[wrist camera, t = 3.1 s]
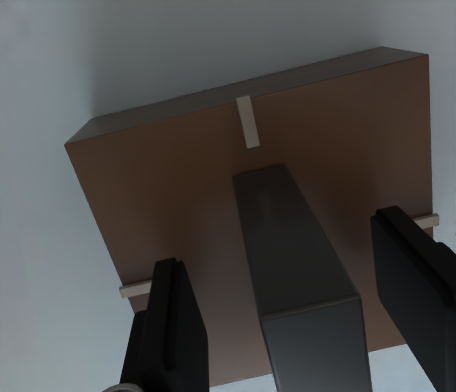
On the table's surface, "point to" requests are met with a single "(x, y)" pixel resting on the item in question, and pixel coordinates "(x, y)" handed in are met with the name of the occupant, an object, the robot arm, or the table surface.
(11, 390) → the table surface
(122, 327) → the table surface
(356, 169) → the panel
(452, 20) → the table surface
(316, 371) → the handle
